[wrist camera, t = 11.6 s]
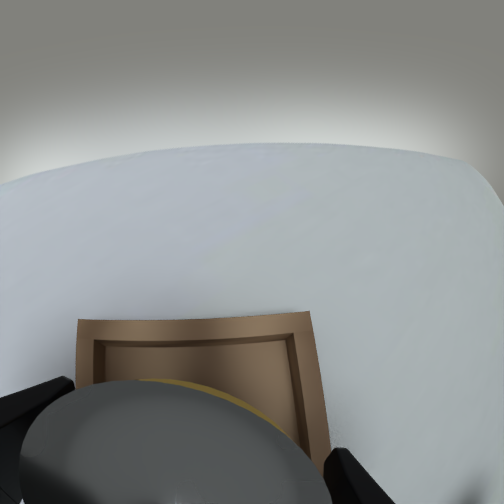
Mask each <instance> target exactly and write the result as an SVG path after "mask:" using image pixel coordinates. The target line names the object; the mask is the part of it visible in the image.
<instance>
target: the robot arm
mask: <svg viewBox="0 0 504 504" xmlns="http://www.w3.org/2000/svg"><path fill="white" fill-rule="evenodd" d="M74 390H75V386H74V382H73V381H72V380H71V379H69V378H67V377H65V376H60V377H58V378H55V379H52V380H50V381H47V382H44V383H41V384H39V385H36V386H33V387H30V388H27V389H24V390H22V391H19V392H16V393H13V394H10V395H7V396H4V397H1V398H0V504H20V502H21V500H22V498H23V497H22V492H21V488H20V481H19V459H20V453H21V448H22V444H23V441H24V439H25V436H26V434H27V432H28V430H29V428H30V426H31V425H32V424H33V422H34V421H35V419H36V418H37V416H38V415H39V414H40V413H41V412H42V411H43V410H44V409H45V408H46V407H47V406H49V405H50V404H51V403H53V402H54V401H56V400H57V399H59V398H60V397H62V396H64V395H66V394H68V393H70V392H72V391H74ZM323 479H324V481H325V483H326V486H327V488H328V491H329V493H330V496H331V500H332V504H395V503H394V502H393V500H392V499H391V498H390V497H389V496H388V495H387V494H386V493H385V492H384V491H383V489H382V488H381V487H380V486H379V485H378V484H377V483H376V482H375V480H374V479H373V478H372V477H371V476H370V475H369V474H368V472H367V471H366V470H365V469H364V468H363V467H362V466H361V464H360V463H359V462H358V461H357V460H356V458H355V457H354V456H353V455H352V454H351V453H350V451H349V450H348V449H347V448H334V449H333V450H332V452H331V453H330V454H329V456H328V457H327V458H326V460H325V462H324V468H323Z"/></svg>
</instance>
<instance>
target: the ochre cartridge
mask: <svg viewBox="0 0 504 504" xmlns="http://www.w3.org/2000/svg"><path fill="white" fill-rule="evenodd" d="M19 481H20V488H21V492H22V497H23V501H24V503H25V504H332V500H331V496H330V493H329V491H328V488H327V486H326V483H325V481H324V479H323V477H322V476H321V474H320V473H319V471H318V469H317V468H316V466H315V464H314V463H313V462H312V461H311V460H310V459H309V457H308V456H307V455H306V454H305V453H304V451H303V450H302V449H301V448H300V447H299V446H298V445H297V444H295V443H294V442H293V441H292V440H291V438H290V437H289V436H288V435H287V434H286V433H285V432H284V431H283V430H282V429H281V428H280V427H279V426H278V425H277V424H276V423H275V422H274V421H272V420H271V419H270V418H268V417H267V416H266V415H264V414H263V413H262V412H261V411H259V410H257V409H256V408H254V407H252V406H251V405H249V404H247V403H246V402H244V401H242V400H240V399H238V398H236V397H233V396H231V395H229V394H227V393H224V392H222V391H219V390H216V389H213V388H211V387H207V386H203V385H199V384H195V383H192V382H186V381H179V380H172V379H139V380H125V381H110V382H104V383H98V384H93V385H89V386H86V387H83V388H80V389H76V390H74V391H72V392H70V393H68V394H66V395H64V396H62V397H60V398H59V399H57V400H56V401H54V402H53V403H51V404H50V405H49V406H47V407H46V408H45V409H44V410H43V411H42V412H41V413H40V414H39V415H38V416H37V418H36V419H35V421H34V422H33V424H32V425H31V426H30V428H29V430H28V432H27V434H26V436H25V439H24V441H23V444H22V448H21V453H20V459H19Z"/></svg>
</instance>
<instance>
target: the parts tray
mask: <svg viewBox="0 0 504 504" xmlns="http://www.w3.org/2000/svg"><path fill="white" fill-rule="evenodd" d="M139 379H172V380H179V381H186V382H192V383H195V384H199V385H203V386H207V387H211V388H213V389H216V390H219V391H222V392H224V393H227V394H229V395H231V396H233V397H236V398H238V399H240V400H242V401H244V402H246V403H247V404H249V405H251V406H252V407H254V408H256V409H257V410H259V411H261V412H262V413H263V414H264V415H266V416H267V417H268V418H270V419H271V420H272V421H274V422H275V423H276V424H277V425H278V426H279V427H280V428H281V429H282V430H283V431H284V432H285V433H286V434H287V435H288V436H289V437H290V438H291V440H292V441H293V442H294V443H295V444H297V445H298V446H299V447H300V448H301V449H302V450H303V451H304V453H305V454H306V455H307V456H308V457H309V459H310V460H311V461H312V462H313V463H314V464H315V466H316V468H317V469H318V471H319V473H320V474H321V476H322V477H323V468H324V462H325V460H326V458H327V457H328V456H329V454H330V453H331V446H330V438H329V430H328V422H327V415H326V408H325V401H324V394H323V387H322V381H321V374H320V368H319V362H318V356H317V350H316V344H315V339H314V333H313V327H312V322H311V317H310V311H305V312H295V313H285V314H273V315H261V316H247V317H232V318H213V319H188V320H86V319H78V326H77V341H76V389H80V388H83V387H86V386H89V385H93V384H98V383H104V382H110V381H125V380H139Z"/></svg>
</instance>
